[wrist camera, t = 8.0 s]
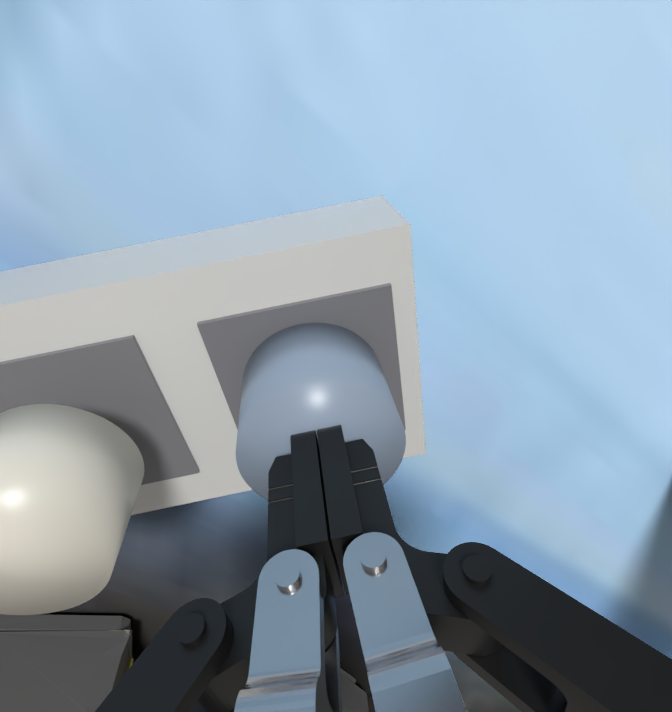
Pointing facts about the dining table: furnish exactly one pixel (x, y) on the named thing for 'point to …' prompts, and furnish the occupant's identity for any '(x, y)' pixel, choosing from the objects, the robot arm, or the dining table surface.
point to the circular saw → (80, 663)
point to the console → (206, 331)
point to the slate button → (314, 399)
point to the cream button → (61, 505)
